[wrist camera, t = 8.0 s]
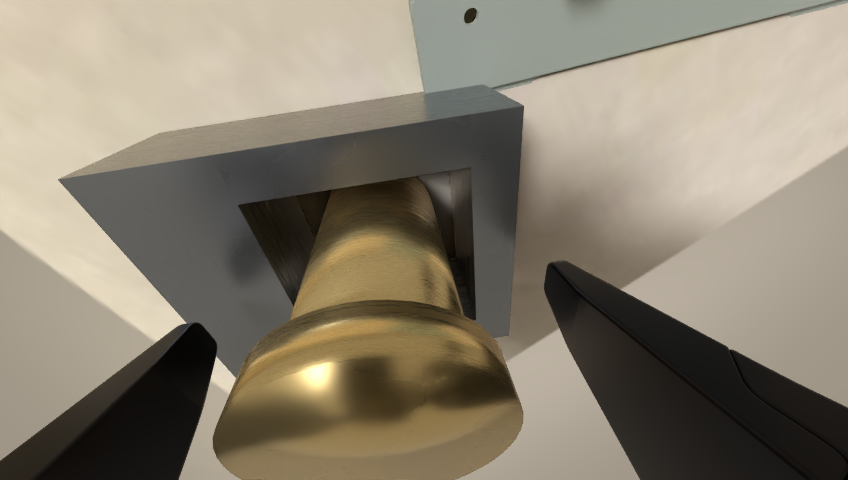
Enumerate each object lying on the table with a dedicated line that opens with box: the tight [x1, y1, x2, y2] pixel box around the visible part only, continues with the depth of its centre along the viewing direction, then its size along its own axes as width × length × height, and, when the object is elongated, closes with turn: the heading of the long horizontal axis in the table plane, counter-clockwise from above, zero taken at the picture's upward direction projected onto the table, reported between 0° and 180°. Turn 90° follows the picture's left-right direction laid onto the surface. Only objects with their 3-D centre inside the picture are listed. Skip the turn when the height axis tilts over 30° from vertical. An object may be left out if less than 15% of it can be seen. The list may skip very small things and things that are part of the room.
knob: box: [213, 176, 523, 480], centre depth 8 cm, size 5×5×8 cm
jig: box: [58, 84, 524, 378], centre depth 10 cm, size 10×8×4 cm
